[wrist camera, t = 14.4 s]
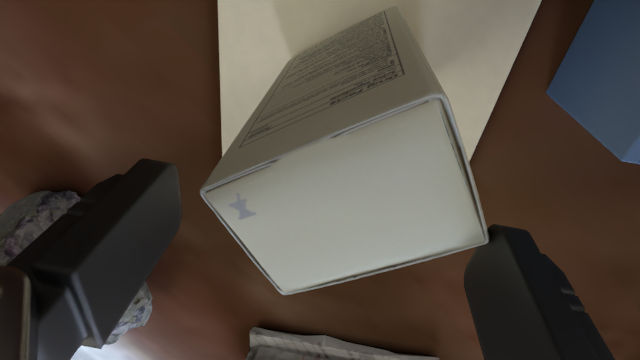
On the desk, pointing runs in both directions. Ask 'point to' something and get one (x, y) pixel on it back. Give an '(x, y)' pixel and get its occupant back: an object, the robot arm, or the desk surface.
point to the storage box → (605, 77)
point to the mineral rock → (32, 220)
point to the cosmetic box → (349, 164)
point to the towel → (351, 8)
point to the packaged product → (314, 348)
